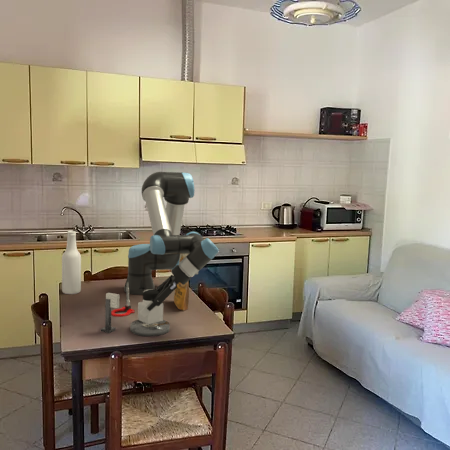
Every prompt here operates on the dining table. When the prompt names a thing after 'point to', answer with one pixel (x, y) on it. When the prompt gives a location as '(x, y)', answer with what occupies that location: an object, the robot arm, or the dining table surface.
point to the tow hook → (126, 308)
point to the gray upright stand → (110, 302)
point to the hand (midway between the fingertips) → (142, 310)
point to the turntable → (149, 328)
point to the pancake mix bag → (182, 292)
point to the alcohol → (71, 266)
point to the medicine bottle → (156, 313)
